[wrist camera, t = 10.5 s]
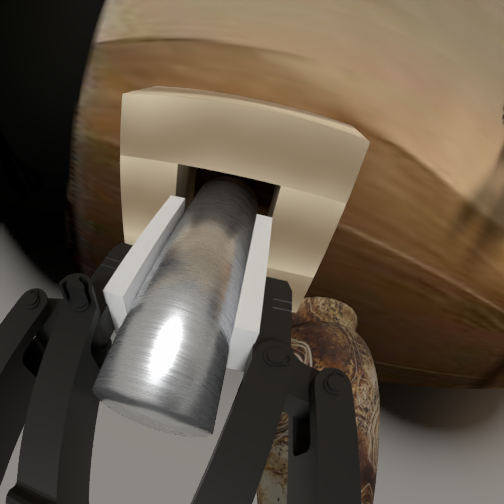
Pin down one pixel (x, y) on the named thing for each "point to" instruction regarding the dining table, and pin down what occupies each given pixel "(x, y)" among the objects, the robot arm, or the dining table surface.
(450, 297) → the dining table surface
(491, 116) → the dining table surface
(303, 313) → the vase
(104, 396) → the peg
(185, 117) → the socket
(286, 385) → the robot arm
